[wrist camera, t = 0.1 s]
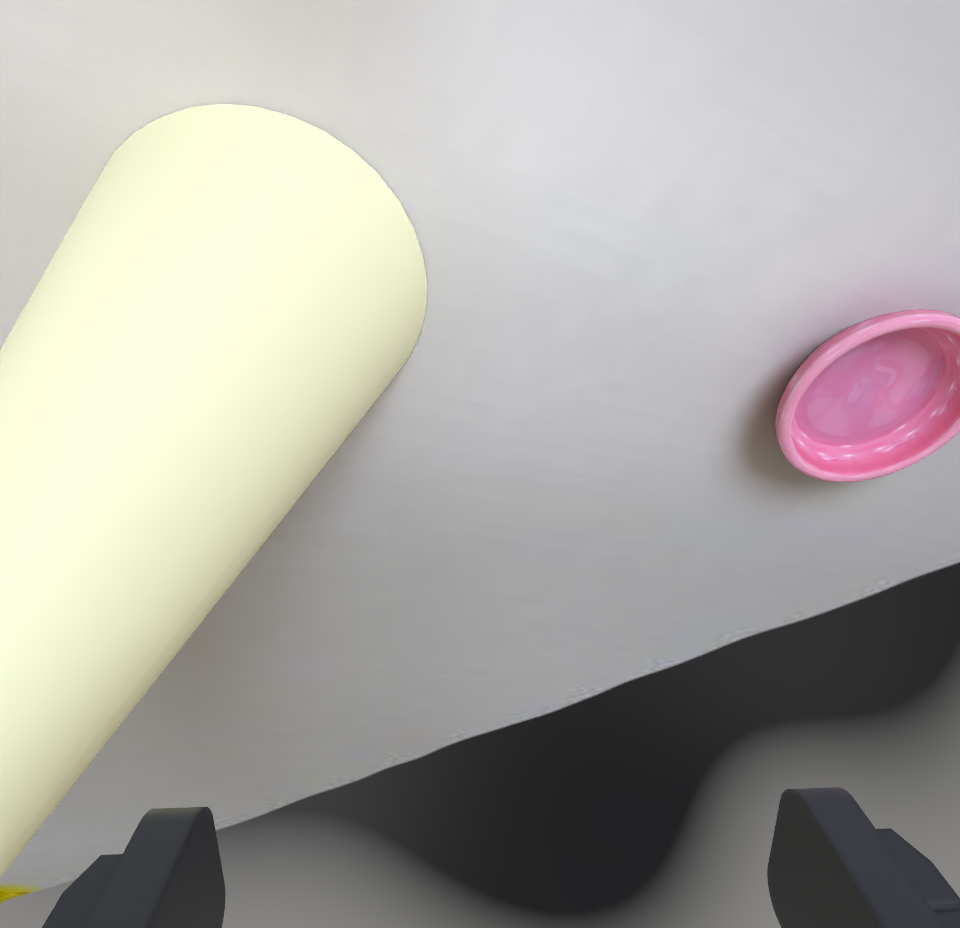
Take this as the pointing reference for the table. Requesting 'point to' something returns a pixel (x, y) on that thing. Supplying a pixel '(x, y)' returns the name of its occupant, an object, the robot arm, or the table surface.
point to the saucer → (874, 397)
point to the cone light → (177, 409)
